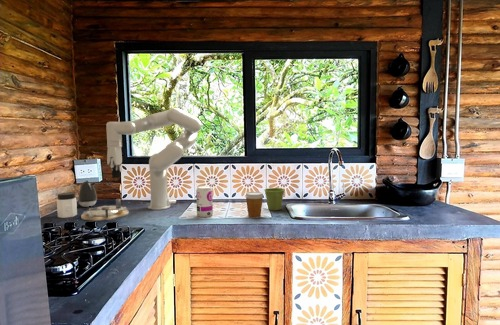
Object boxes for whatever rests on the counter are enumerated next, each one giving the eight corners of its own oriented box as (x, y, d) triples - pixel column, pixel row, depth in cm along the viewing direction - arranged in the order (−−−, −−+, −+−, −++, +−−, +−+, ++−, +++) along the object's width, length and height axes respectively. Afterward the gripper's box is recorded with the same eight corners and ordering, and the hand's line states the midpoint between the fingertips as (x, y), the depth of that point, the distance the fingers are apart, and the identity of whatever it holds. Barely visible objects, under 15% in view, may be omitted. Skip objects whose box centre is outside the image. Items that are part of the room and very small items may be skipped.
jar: (58, 218, 164) (56, 195, 163) (57, 215, 170) (56, 193, 170) (77, 216, 169) (76, 193, 168) (76, 213, 175) (75, 191, 174)
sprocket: (124, 206, 184) (123, 195, 184) (128, 214, 166) (127, 201, 166) (83, 210, 175) (83, 199, 174) (83, 219, 157) (83, 206, 156)
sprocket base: (126, 208, 186) (125, 199, 186) (131, 217, 166) (130, 207, 165) (81, 213, 176) (81, 203, 175) (81, 223, 155) (80, 212, 155)
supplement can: (215, 214, 170) (215, 186, 169) (207, 218, 162) (206, 188, 161) (202, 213, 173) (202, 185, 172) (193, 216, 166) (193, 187, 165)
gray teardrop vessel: (92, 207, 188) (91, 182, 187) (75, 208, 189) (73, 182, 187) (100, 204, 199) (99, 179, 197) (84, 204, 199) (82, 180, 198)
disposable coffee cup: (252, 213, 172) (252, 191, 171) (267, 215, 167) (267, 192, 166) (241, 216, 164) (241, 193, 163) (256, 219, 159) (256, 195, 158)
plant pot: (279, 206, 188) (279, 187, 187) (288, 210, 177) (288, 190, 176) (261, 207, 185) (260, 188, 184) (268, 212, 173) (268, 191, 173)
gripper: (113, 144, 184) (114, 175, 186) (101, 144, 169) (103, 179, 170) (126, 143, 184) (127, 175, 186) (116, 144, 169) (117, 179, 170)
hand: (116, 177), depth 178 cm, fingers closed
